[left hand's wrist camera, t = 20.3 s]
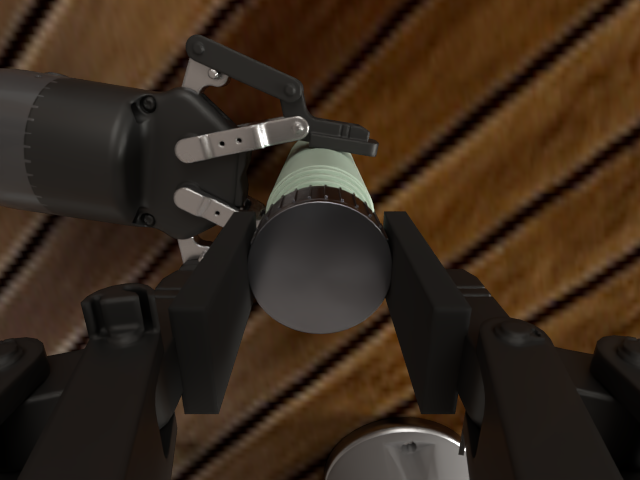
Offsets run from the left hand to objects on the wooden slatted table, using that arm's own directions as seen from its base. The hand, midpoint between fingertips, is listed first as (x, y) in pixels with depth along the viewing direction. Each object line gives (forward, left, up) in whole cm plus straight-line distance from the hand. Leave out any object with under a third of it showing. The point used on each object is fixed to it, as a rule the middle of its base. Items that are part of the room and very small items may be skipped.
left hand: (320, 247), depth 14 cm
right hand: (+1, -2, -9) cm, 9 cm away
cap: (0, 0, +2) cm, 2 cm away
